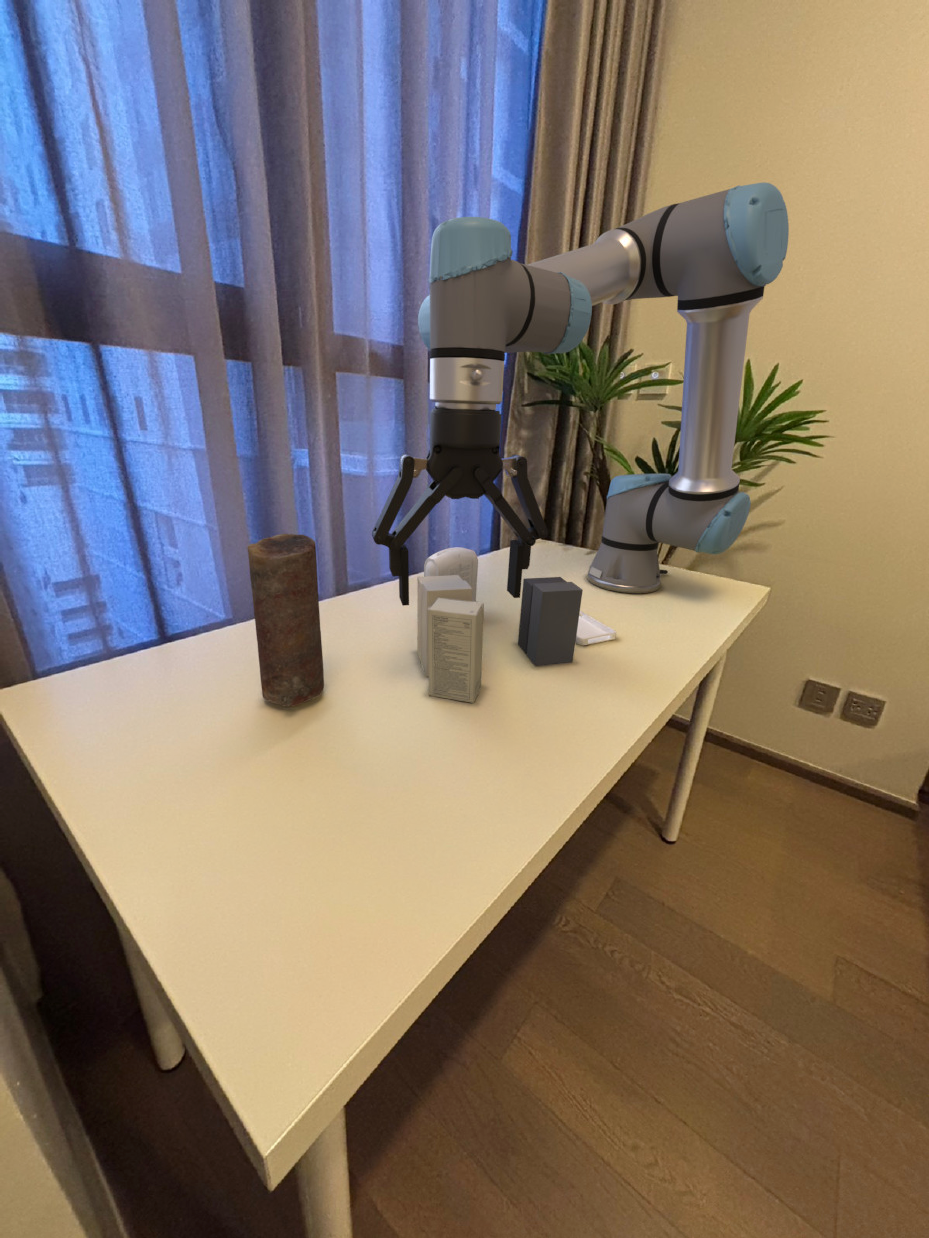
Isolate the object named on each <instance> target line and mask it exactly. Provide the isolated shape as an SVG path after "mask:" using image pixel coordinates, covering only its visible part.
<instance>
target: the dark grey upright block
mask: <svg viewBox="0 0 929 1238" xmlns="http://www.w3.org/2000/svg"><path fill="white" fill-rule="evenodd" d="M521 590H522V591H521V602H520V614H519V624H518V637H517V646H518V647H519V648H520V650H521V651H522V652H523V653H524V655H526V657H527V658H528V660H529V661H530V662H531V663H532V665H533V666H534V667H542V666H553V665H562V664H563V665H564V664H573V663H574V655H575V649H576V635H577V628H578V620H579V615H580V611H581V607H582V606H581V605H582V598H583V591H584V590H583V589H582V588H581V587H580V586H578V585H577V584H576V583H575V582H573V581H566V579H564V578H563V577H561V576H548V577H529V578H523V581H522V589H521Z"/></svg>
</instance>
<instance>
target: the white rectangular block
mask: <svg viewBox="0 0 929 1238" xmlns="http://www.w3.org/2000/svg"><path fill="white" fill-rule="evenodd" d="M416 589H417V599H416V601H417V602H416V603H417V609H416V611H417V614H416V615H417V619H416V620H417V625H416V631H417V632H416V634H417V635H416V637H417V639H416V640H417V641H416V643H417V644H416V645H417V646H416V647H417V649H416V651H417V656H418V658H419V661H420V664H421V666H422V669H423V672H424V674H425V676H426V677H429V671H428V608H429V607H430V606H431V605H432V604H433V603H434V602H435V601H436V599H438V598H447V599H456V600H465V601H472V588H471V586H470V585H469V584H468V583H467V581H466V580H462V579H461V578H460V576H459V575H450V576H427V577H424V576H417V588H416Z"/></svg>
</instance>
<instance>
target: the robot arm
mask: <svg viewBox="0 0 929 1238" xmlns="http://www.w3.org/2000/svg"><path fill="white" fill-rule="evenodd" d="M789 230H790V229H789V214H788V209H787V205H786V202H785V200H784V196H783V194H782V193H781V191H780V190H779V189H778V188H777V186H776V185H774V184H772V183H770V182H765V181H764V182H756V183H750V184H744V185H740V184H739V185H737V186H734V187H732V188H728V189H725V190H722V191H718V192H713V193H711V194H707V195H703V196H700V197H696V198H693V199H689V200H685V201H682V202H679V203H673V204H670V205H666V206H662V207H661V208H658V209H655V210H653V211H651V212H649V213H647V214H645V215H642V216H641V217H639V218H638V217H637V218H636V219H634V220H631V221H629V222H627V223H625V224H623V225H621V226H619V227H616V228H613V229H610V230H607V231H605V232H603V233H602V234H601V235H599V236H598V237H597V239H596V240H595V241H594V243H592V244H589V245H586V246H582V247H579V248H576V249H572V250H569V251H567V252H563V253H560V254H557V255H554V256H550V257H547V258H544V259H540V260H537V261H534V262H531V263H528V264H524V263H521V262H519V261H517V260H514V259H512V257H513V253H514V252H513V249H512V235H511V234H512V233H511V231H510V230H509V229H508V227H506V225H504V223H502V222H501V221H499V220H496V219H493V218H488V217H481V216H461V217H453V218H451V219H447V220H445V221H444V222H443V221H442V223H440V224H439V225H438V226H437V227H436V228H435V229H434V231H433V233H432V237H431V245H430V256H429V257H430V259H429V276H428V281H427V282H428V283H429V295H428V296H426V297H425V298H424V299H423V302H422V303H421V305H420V308H419V311H418V315H417V324H418V332H419V334H420V337H421V340H422V342H423V344H424V346H425V347H426V348H427V349H428V351H430V353H429V354H430V355H429V357H430V358H429V400H430V402H431V403H434V405H435V406H434V408H431V411H429V449H428V453H427V456H426V457H418V456H412V455H409V454H408V453H403V454H401V456H400V457H399V466H398V474H397V477H396V480H395V482H394V483H393V485H392V488H391V491H390V493H389V495H388V497H387V499H386V501H385V504H384V506H383V507H382V510H381V512H380V514H379V516H378V518H377V520H376V523H375V525H374V527H373V529H372V531H371V536H372V539H373V542H374V543H375V544H376V545H379V546H381V545H382V546H385V547H387V548H388V564H389V571H390V573H391V575H392V577H398V595H399V596H398V597H399V600H400V603H401V605H402V606H403V607H404V606H410V573H409V568H410V567H409V566H410V565H409V564H410V563H409V549H408V547H407V545H406V544H405V543H406V542H407V540H408V539H410V537H411V536H412V535H413V533H414V532H415V531H416V529H418V528H419V526H420V525H421V523H422V522H423V521H425V519H426V517H427V516H428V515H429V514H430V512H431V511H432V510H433V509H434V507H436V505H438V504H439V503H440V502H442V500H443V499H444V498H445V496H446V497H447V498H449V499H450V500H460V499H463V498H468V499H472V500H479V499H480V498H482V496H484V497H485V498H486V499H487V500H488V501H489V502H490V504H491V505H492V506H493V508H494V509H495V510H496V512H497V514H499V515H500V517H501V518H502V519H503V521H504V523H506V525H507V526H508V527H509V529H510V530H511V531H512V533H513V534H514V535H515V537H516V538H517V539H511V540H509V555H508V567H507V568H508V570H507V584H506V591H507V592H508V593H509V594H510V595H511V596H512V598H513V599H520V598H521V593H522V591H521V590H522V577H523V570H529V567H530V566H531V565H530V564H531V554H532V547H533V546H534V545H536V543H537V540H540V539H542V540H543V539H546V538H547V537H548V534H549V530H548V528H547V525H546V523H545V520H544V517H543V515H542V511H541V509H540V506H539V504H538V501H537V499H536V496H535V494H534V491H533V489H532V485H531V483H530V480H529V477H528V475H529V474H528V459H527V458H526V457H525V456H521V455H518V454H512V455H511V456H510V457H503V458H501V454H500V447H501V433H502V417H503V416H502V414H501V411H500V410H497V405H500V404H501V403H503V391H504V372H505V371H504V370H505V361H506V354H510V353H511V354H512V353H526V352H527V353H528V352H538V353H543V354H544V355H550V354H551V355H553V354H565V353H569V352H570V351H572V350H574V349H575V348H577V347H578V346H579V345H580V343H581V342H582V341H583V340H584V338H585V337H586V335H587V333H588V331H589V329H590V325H591V321H592V316H593V313H592V311H593V306H596V305H598V304H600V303H604V304H605V305H616V304H621V303H622V302H625V301H631V300H640V299H657V298H658V299H659V298H660V299H661V298H671V297H677V306H676V312H677V313H678V315H680V316H681V317H682V318H683V319H684V320H685V322H686V334H685V349H684V350H685V351H684V366H683V368H684V369H683V384H682V400H681V417H680V435H679V453H678V468H677V469H678V470H677V472H676V473H675V474H674V475H672V474H670V473H633V474H620V475H616V476H615V477H614V478H612V479H611V481H610V484H609V488H608V492H607V495H606V504H605V513H604V520H603V526H602V534H601V541H600V545H599V547H598V549H597V551H596V553H595V556H594V558H593V560H592V562H591V564H590V565H589V567H588V570H587V576H586V577H587V580H588V582H589V583H591V584H592V585H594V586H596V587H599V588H600V589H604V590H609V591H613V592H617V593H623V594H647V593H654V592H656V591H657V590H659V589H660V585H661V580H662V579H661V577H662V576H661V575H667V574H668V569H660V562H659V555H658V548H659V543H660V544H663V545H668V546H672V547H676V548H680V549H684V550H685V549H686V550H690V551H693V552H695V553H698V554H699V553H703V554H708V555H715V556H717V555H720V554H723V553H725V552H726V551H728V550H729V549H730V548H731V547H732V545H734V543H735V542H736V540H737V539H738V537H740V534H741V533H742V531H743V528H744V526H745V525H746V522H747V519H748V516H749V513H750V510H751V502H752V501H751V497H750V495H749V494H748V493H746V492H744V491H740V481H741V478H740V476H739V474H737V473H736V472H735V471H734V470H733V469H732V468H733V461H734V460H733V459H734V450H735V443H736V442H735V441H736V434H737V425H738V416H739V409H740V399H741V391H742V382H743V373H744V364H745V356H746V348H747V339H748V329H749V322H750V314H751V313H752V311H753V309H754V308H756V306H758V304H759V303H760V302H761V301H762V300H763V298H764V294H765V293H764V292H765V287H766V286H767V285H769V284H771V283H773V282H774V281H775V280H776V279H777V278H778V276H779V275H780V273H781V271H782V270H783V267H784V263H783V262H784V261H785V260H786V257H787V252H788V245H789V235H790V234H789V233H790V231H789ZM423 470H426V472H427V473H428V475H429V476H430V478H431V479H432V481H431V482H430V483H429V484H428V486H426V488H425V489H424V491H423V494H421V496H420V497H419V498H418V500H417V501H416V502H415V503H414V505H413V506H412V507H411V508H410V510H409V511H408V512H407V513H406V515H404V517H403V518H402V519H401V521H400V522H399V523H398V524H397V526H396V527H394V529H393V530H392V532H391V533H390V531H391V529H392V528H393V525H394V523H395V520H396V518H397V515H398V514H399V512H400V510H401V508H402V506H403V503H404V502H405V499H406V497H407V495H408V493H409V491H410V488H411V486H412V483H413V480H414V479H417V478H418V477H420V475H421V472H422V471H423ZM503 470H504V471H505V475H506V476H507V477H510V480H511V483H512V485H513V488H514V491H515V494H516V496H517V498H518V502H519V504H520V506H521V509H522V511H523V514H524V517H525V519H526V522H527V524H528V528H527V526H526V525H525V524H524V522H523V521H522V520H521V519H520V517H519V516H518V514H517V513H516V512H515V510H514V509H513V508H512V506H511V505H510V504H509V502H508V501H507V500H506V498H505V497H504V495H503V493H502V491H501V490H500V489H499V488H498V486H497V485H496V483H495V481H496V479H497V478H498V476H499V475H500V474H501V472H502V471H503Z"/></svg>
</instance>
